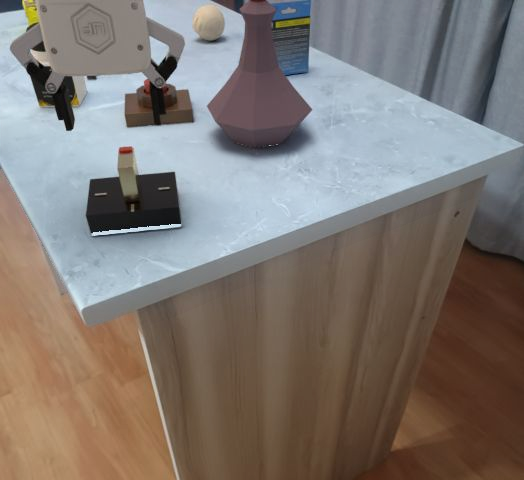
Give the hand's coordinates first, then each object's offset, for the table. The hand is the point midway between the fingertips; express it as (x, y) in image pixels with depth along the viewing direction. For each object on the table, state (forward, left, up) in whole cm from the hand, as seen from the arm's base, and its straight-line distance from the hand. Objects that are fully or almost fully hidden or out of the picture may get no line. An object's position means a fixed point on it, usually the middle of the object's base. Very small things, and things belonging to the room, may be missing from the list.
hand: (114, 123), depth 58 cm
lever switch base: (0, 0, -12) cm, 11 cm away
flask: (+20, +20, -12) cm, 30 cm away
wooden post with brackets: (-8, +54, -12) cm, 56 cm away
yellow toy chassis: (-21, +85, -12) cm, 88 cm away
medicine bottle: (-12, +41, -12) cm, 44 cm away
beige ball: (+17, +72, -12) cm, 75 cm away
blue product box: (+30, +47, -12) cm, 57 cm away
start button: (+4, +31, -8) cm, 33 cm away
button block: (+4, +31, -12) cm, 34 cm away
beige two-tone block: (0, 0, -8) cm, 8 cm away
